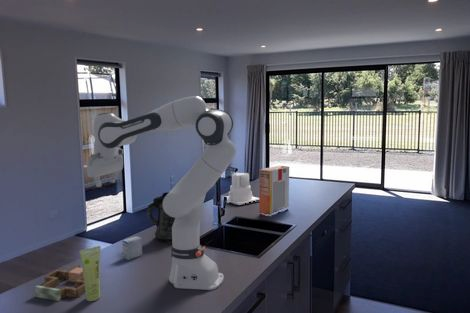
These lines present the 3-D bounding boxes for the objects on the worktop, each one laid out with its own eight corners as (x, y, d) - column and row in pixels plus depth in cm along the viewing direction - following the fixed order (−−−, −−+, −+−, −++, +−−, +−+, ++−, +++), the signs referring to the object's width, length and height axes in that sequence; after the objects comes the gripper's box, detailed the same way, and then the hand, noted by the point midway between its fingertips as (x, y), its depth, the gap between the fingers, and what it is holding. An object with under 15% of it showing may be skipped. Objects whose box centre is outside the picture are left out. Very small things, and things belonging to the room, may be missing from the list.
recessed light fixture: (243, 196, 307) (243, 169, 305) (262, 201, 291) (262, 173, 288) (218, 201, 291) (218, 173, 289) (237, 207, 275) (237, 177, 272)
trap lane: (108, 276, 162) (108, 267, 162) (69, 303, 140) (69, 292, 140) (68, 270, 168) (67, 261, 168) (24, 294, 146) (23, 284, 146)
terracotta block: (87, 277, 161) (87, 268, 161) (79, 283, 156) (78, 273, 156) (77, 276, 163) (77, 267, 162) (69, 281, 158) (68, 272, 157)
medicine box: (136, 253, 188) (136, 235, 187) (142, 255, 185) (142, 237, 184) (122, 258, 182) (122, 240, 181) (128, 260, 179) (127, 242, 178)
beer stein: (192, 237, 211) (191, 192, 208) (167, 247, 195) (166, 199, 192) (170, 231, 220) (169, 188, 217) (144, 241, 204) (142, 195, 201)
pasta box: (278, 207, 273) (279, 165, 269) (288, 209, 267) (289, 166, 264) (259, 214, 255) (259, 169, 251) (269, 217, 250) (270, 171, 246)
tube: (95, 303, 140) (92, 251, 138) (82, 301, 141) (79, 250, 138) (102, 295, 146) (100, 245, 143) (90, 294, 146) (87, 244, 144)
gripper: (95, 155, 151) (96, 190, 153) (125, 149, 170) (126, 180, 172) (82, 154, 153) (83, 188, 155) (113, 149, 172) (113, 179, 174)
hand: (106, 184), depth 164 cm, fingers open, 8 cm apart
